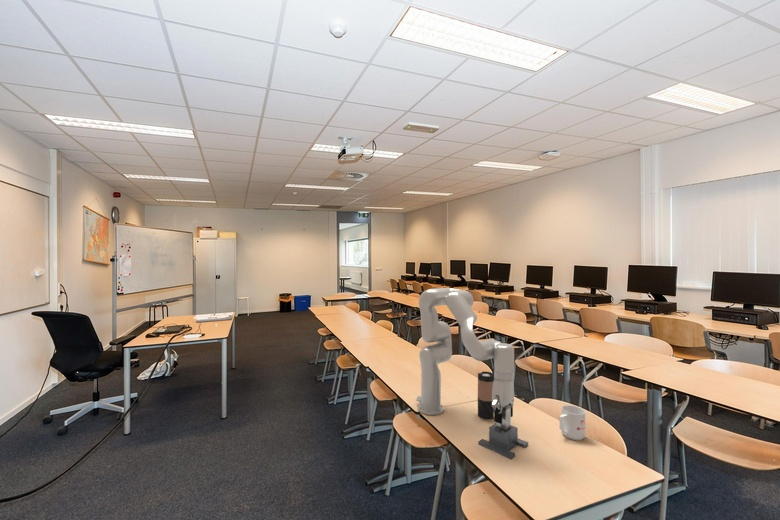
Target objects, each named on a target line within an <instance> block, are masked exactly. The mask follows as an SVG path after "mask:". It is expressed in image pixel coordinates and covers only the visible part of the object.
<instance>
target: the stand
mask: <svg viewBox="0 0 780 520" xmlns="http://www.w3.org/2000/svg"><path fill="white" fill-rule="evenodd" d="M518 432H519V431H518V427H517V426H514V425H512V424H511V429H509V430H508V431H506V432H505V431H503V430H501V429H499V428H496V422H494V424H492V425H490V426H488V440H487V439H484V438H481V439H479V441H478V445H479V446H481V447H484V448H485V449H487V450H490V451H492V452H494V453H497V454H498V455H501V456H503V457H505V458H507V459H509V460H513V459H514V458H515V457H516V452H513V451H512V450H514V449H515V448H516V447H517V446H518V447H521V448H523V449H526V448H527V447H528V446H529V442H528V441H526V440H523V439H521V438H519V436H518Z"/></svg>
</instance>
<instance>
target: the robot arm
mask: <svg viewBox="0 0 780 520" xmlns="http://www.w3.org/2000/svg"><path fill="white" fill-rule="evenodd" d="M474 300H475V299H474V296H473V294H472V293H471V292H470V291H468V290H464V289H458V288H452V287H435V288H429V289H426V290H424V291H423V292H422V293H421V294H420V296H419V297H418V306H419V307H418V308H419V311H420V329H421V338H422V340H423V342H425V343H428V345H426V346H424V347H422V348H421V350H419V355H418V356H419V361H420V370H421V372H420V379H421V381H420V382H421V385H420V389H421V390H420V392H421V393H420V395H417V397H416V398H415V401H416V402H418V406H417V410H418V412H420V413H422V414H424V415H426V416H427V415H428V416H439V415H440V414H442V413H444V410H445V409H444V405H442V404H441V403H442V402H441V397H442V395H441V394H442V392H441V390H442V389H441V387H442V382H441V381H442V374H441V370H440V368H439V366H438V365H439V364H443V363H446V362H448V361H450V360H451V359H452V355H453V344H452V330H451V328H450V325H449V324H448V323H447V322H445V321H443V320H442V321H441V320H440V321H439V313H438V310H437V309H436V307H439V306H446V307H447V308H448V310H449V311H450V313H451V314H452V315H453V317H454V319H455V320H456V322H457V323H458V325H459V326H460V337H461V342H462V344H463V346H464V347H465V349H466V351H467V352H468V353H469V355H470V357H472V358H473V359H474V360H475V361H477V362H482V361H487V360H491V359H494V360H493V362H494V363H493V371H494V372H493V374H494V382H493V389H492V407H493V411H494V417H493V422H494V423H496V422H497V423H500V424H502V413H501V412H502V408H503V407H504V406H506V405H508V404H509V405H511V418H512V417H513V414H514V401H515V396H516V394H515V386H514V385H515V384H514V383H515V347H514V346H513V345H512V344H510V343H503V342H500V341H498V340H496V339H493V338H492V339H486V340H479V338H477V335H476V334H475V332H474V328H473V326H474V324H475V323H476V322H477V320H478V315H477V314H476V313H475V311H474V310H473V309H472V306H473V305H474V302H475V301H474ZM430 343H434V344H430ZM499 403H500V404H501V405H499ZM497 406H499V407H500V409H498V408H497Z"/></svg>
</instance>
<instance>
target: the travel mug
mask: <svg viewBox="0 0 780 520" xmlns="http://www.w3.org/2000/svg"><path fill="white" fill-rule="evenodd" d="M493 382H494V372H490V371H481V372H478V373H477V416H478V417H479V418H480V419H482V420H486V421H489V420H494V411H493V407H492V389H493Z"/></svg>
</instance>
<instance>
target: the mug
mask: <svg viewBox="0 0 780 520" xmlns="http://www.w3.org/2000/svg"><path fill="white" fill-rule="evenodd" d="M558 417H559V418H558V419H559V420H558V421H559V422H558V423H559V430H560V431H561V433H562V434H563V436H565V437H566V438H567V439H568V440H569V439H570V440H573V441H582V440H583V439H584V438H586V410H585V409H583V407H579V406H576V405H571V404H570V405H569V404H566V405H565V404H564V405H562V406H561V415H559V416H558Z"/></svg>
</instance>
